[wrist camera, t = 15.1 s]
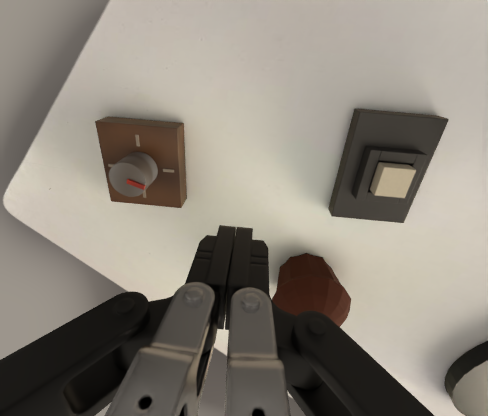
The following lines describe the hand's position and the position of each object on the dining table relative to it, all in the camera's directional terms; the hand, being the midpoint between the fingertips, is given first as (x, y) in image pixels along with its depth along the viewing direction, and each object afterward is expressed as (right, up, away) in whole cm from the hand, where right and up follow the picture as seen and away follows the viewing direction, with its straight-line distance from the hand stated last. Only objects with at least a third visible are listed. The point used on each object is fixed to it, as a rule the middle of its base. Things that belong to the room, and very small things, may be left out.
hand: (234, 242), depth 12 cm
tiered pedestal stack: (+18, +7, +23) cm, 30 cm away
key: (+18, +5, +20) cm, 28 cm away
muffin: (+11, -10, +33) cm, 36 cm away
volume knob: (-13, +7, +22) cm, 27 cm away
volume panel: (-13, +8, +25) cm, 29 cm away
